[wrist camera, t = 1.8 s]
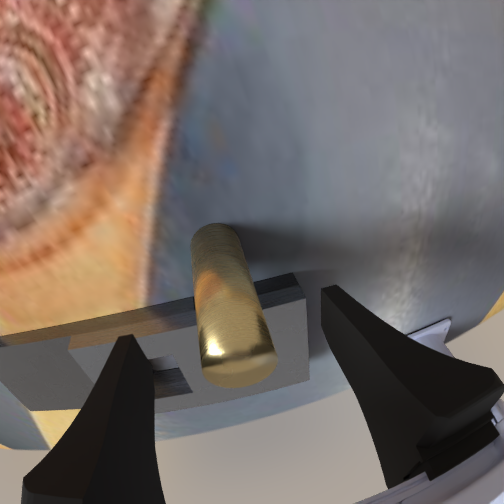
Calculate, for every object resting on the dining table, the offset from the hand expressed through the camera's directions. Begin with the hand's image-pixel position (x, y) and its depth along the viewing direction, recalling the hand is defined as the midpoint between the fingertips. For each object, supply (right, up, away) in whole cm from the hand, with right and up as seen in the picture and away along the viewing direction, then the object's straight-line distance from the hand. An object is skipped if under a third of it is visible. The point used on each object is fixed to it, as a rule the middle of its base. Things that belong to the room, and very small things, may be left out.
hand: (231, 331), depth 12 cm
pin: (-1, +3, +5) cm, 6 cm away
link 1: (-11, -5, +8) cm, 14 cm away
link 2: (-3, -3, +9) cm, 10 cm away
